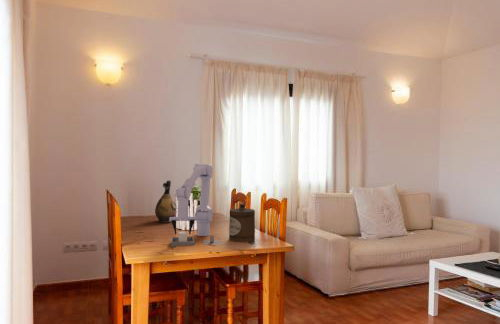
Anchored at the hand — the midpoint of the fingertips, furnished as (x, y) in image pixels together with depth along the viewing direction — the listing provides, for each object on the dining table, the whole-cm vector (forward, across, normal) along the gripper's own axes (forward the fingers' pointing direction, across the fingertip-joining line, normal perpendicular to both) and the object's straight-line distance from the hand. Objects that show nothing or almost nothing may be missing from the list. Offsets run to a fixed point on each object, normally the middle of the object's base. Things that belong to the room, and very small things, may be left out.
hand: (182, 233), depth 218 cm
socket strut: (+5, 0, 0) cm, 5 cm away
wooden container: (+6, +34, +5) cm, 35 cm away
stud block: (+6, +16, -1) cm, 17 cm away
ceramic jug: (+6, -10, +77) cm, 78 cm away
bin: (+6, 0, 0) cm, 6 cm away
